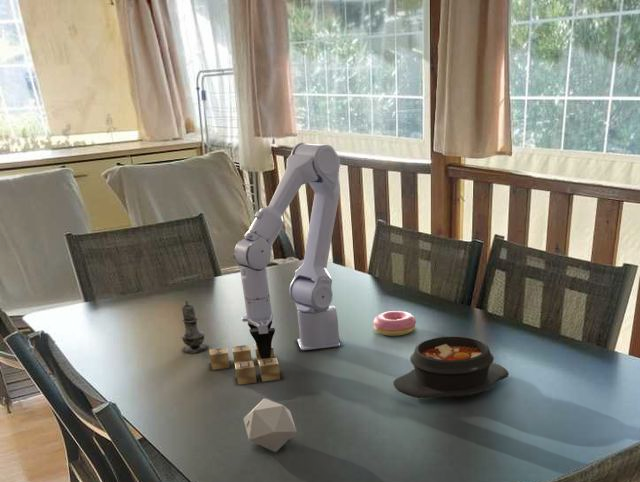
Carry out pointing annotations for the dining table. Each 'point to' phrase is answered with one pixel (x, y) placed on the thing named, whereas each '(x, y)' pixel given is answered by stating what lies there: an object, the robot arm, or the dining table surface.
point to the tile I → (219, 358)
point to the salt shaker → (192, 331)
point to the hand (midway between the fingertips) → (264, 354)
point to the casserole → (450, 369)
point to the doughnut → (394, 323)
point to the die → (270, 425)
